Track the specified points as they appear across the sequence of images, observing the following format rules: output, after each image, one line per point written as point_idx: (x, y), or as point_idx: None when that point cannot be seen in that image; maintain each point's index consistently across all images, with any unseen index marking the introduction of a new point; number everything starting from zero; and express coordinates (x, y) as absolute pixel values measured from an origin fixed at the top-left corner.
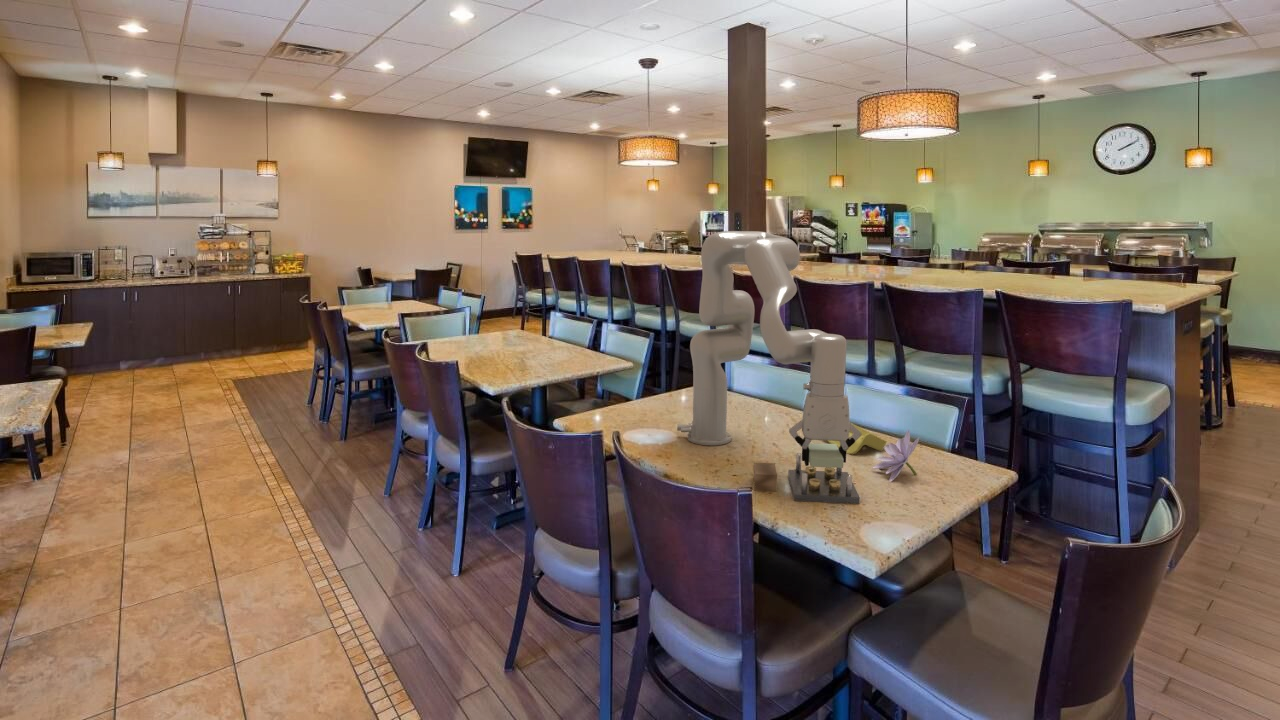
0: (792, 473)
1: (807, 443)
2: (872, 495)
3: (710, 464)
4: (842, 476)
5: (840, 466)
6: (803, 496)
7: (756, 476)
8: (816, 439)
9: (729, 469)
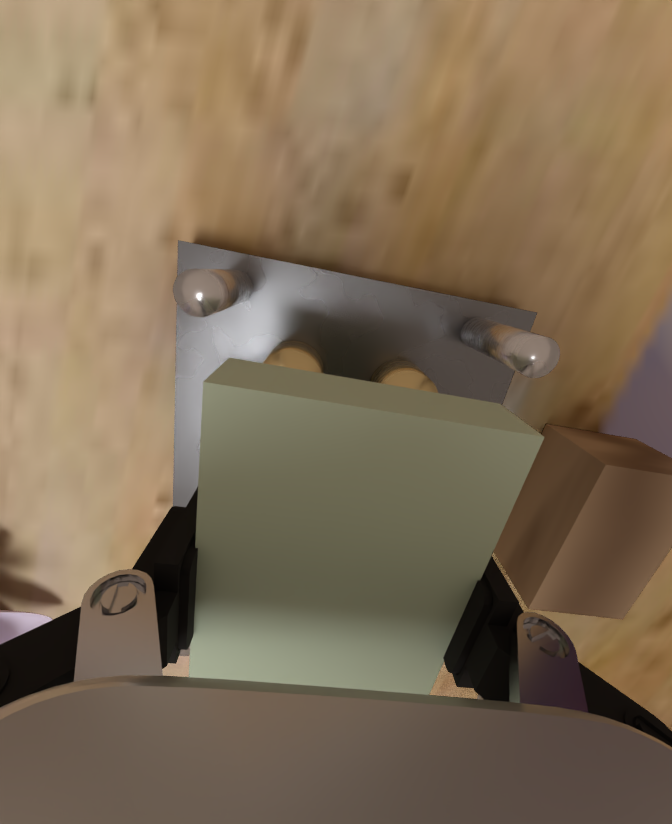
0: None
1: (539, 671)
2: (100, 358)
3: (652, 667)
4: None
5: (252, 364)
6: (486, 302)
7: None
8: (519, 706)
9: (611, 631)
